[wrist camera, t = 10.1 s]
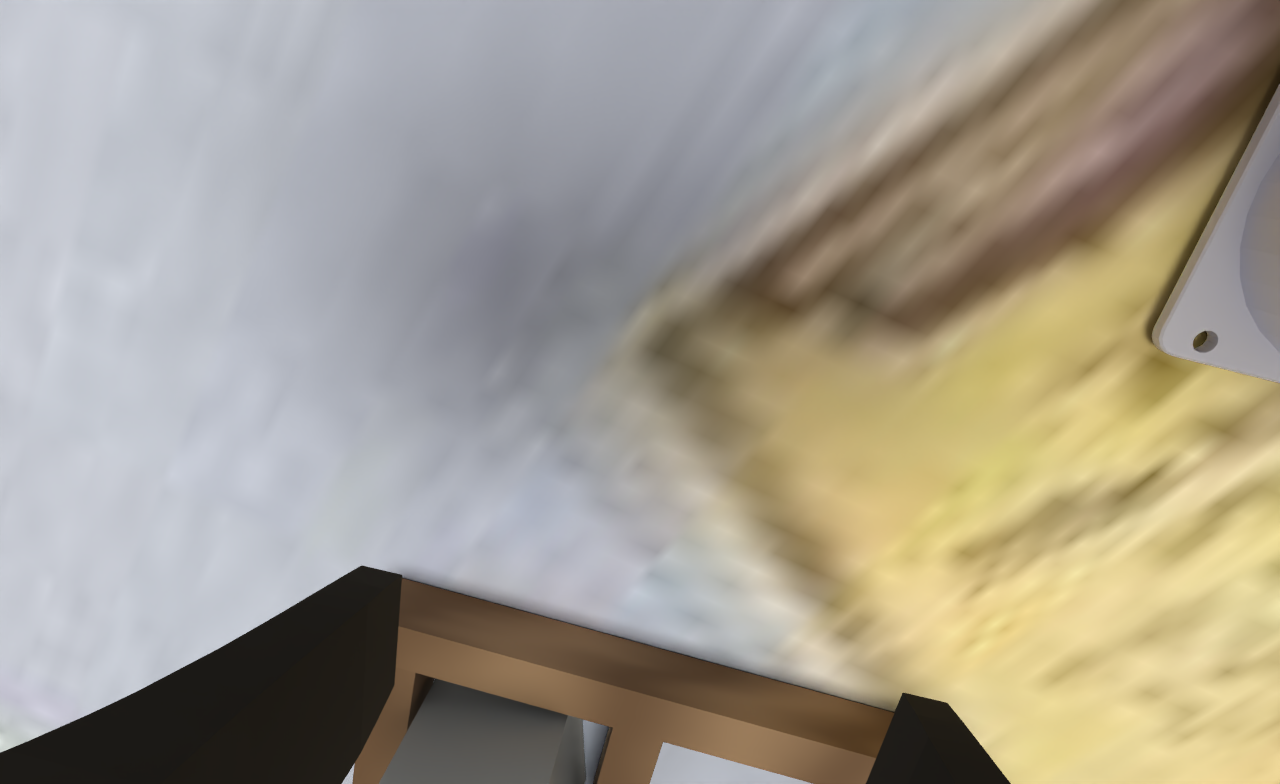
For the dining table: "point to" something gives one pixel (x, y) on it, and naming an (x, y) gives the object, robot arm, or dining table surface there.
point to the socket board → (618, 694)
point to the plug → (487, 742)
